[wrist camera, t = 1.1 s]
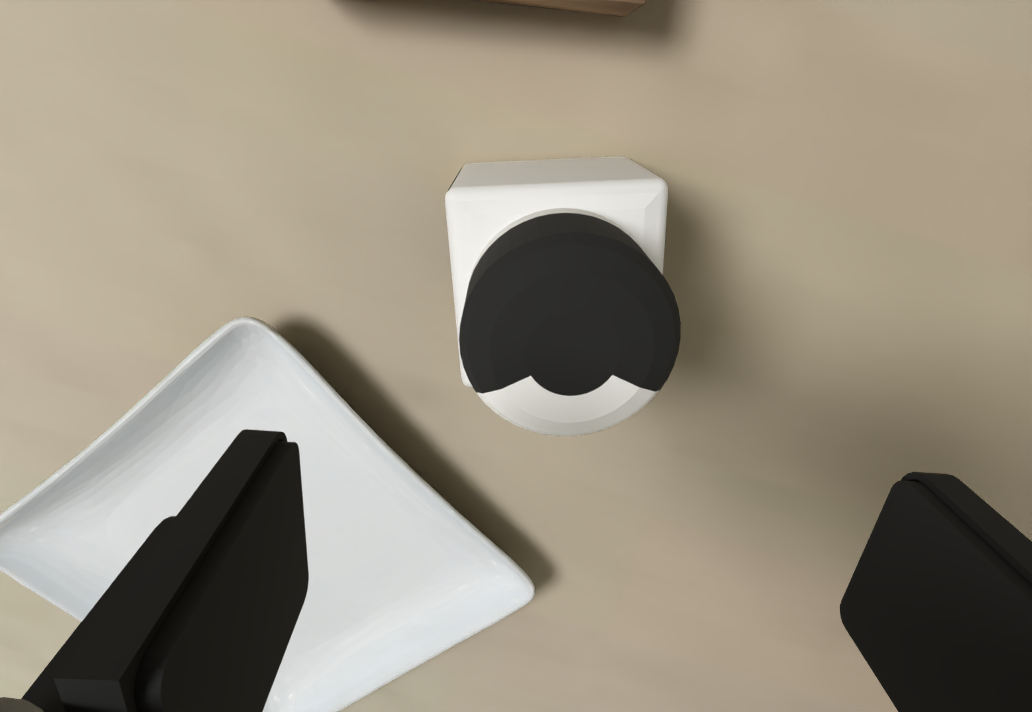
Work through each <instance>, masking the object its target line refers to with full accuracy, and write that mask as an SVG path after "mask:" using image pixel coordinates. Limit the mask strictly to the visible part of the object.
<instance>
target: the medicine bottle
mask: <svg viewBox="0 0 1032 712" xmlns="http://www.w3.org/2000/svg"><path fill="white" fill-rule="evenodd" d="M667 202H668V186H667V183H666V182H665V181H664V180H663V179H661V178H660V177H658V176H656V175H655V174H653V173H652V172H650V171H648V170H647V169H645V168H643V167H642V166H640V165H638V164H637V163H635V162H633V161H632V160H630V159H629V158H627V157H623V156H615V157H593V158H571V159H549V160H527V161H505V162H483V163H468V164H465V165H464V166H463V167H462V168H461V169H460V171H459V173H458V175H457V176H456V178H455V180H454V181H453V183H452V185H451V186H450V188H449V190H448V191H447V193H446V197H445V205H446V216H447V227H448V238H449V249H450V260H451V271H452V282H453V293H454V303H455V314H456V325H457V336H458V347H459V358H460V369H461V378H462V381H463V383H464V384H465V385H466V386H467V387H473V388H474V390H475V391H476V393H477V394H478V395H479V396H480V398H481V399H482V400H483V401H484V403H485V404H487V405H488V406H489V407H490V408H491V409H492V410H493V411H494V412H495V413H497V414H498V415H500V416H501V417H502V418H504V419H505V420H507V421H509V422H511V423H513V424H515V425H516V426H518V427H521V428H524V429H526V430H529V431H532V432H536V433H541V434H545V435H554V436H577V435H585V434H590V433H594V432H598V431H602V430H605V429H607V428H610V427H612V426H615V425H617V424H619V423H621V422H623V421H625V420H627V419H628V418H630V417H631V416H633V415H634V414H636V413H637V412H638V411H640V410H641V409H642V408H643V407H644V406H645V405H647V404H648V403H649V402H650V401H651V400H652V399H653V398H654V396H655V395H656V394H657V393H658V392H659V391H660V389H661V388H662V386H663V385H664V383H665V382H666V380H667V379H668V377H669V375H670V372H671V370H672V368H673V366H674V363H675V360H676V357H677V354H678V350H679V343H680V324H681V323H680V317H679V310H678V306H677V303H676V300H675V297H674V294H673V292H672V290H671V288H670V286H669V284H668V282H667V281H666V279H665V278H664V276H663V263H664V248H665V232H666V217H667Z"/></svg>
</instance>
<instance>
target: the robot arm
mask: <svg viewBox="0 0 1032 712" xmlns="http://www.w3.org/2000/svg"><path fill="white" fill-rule="evenodd" d="M308 582H309V572H308V559H307V545H306V532H305V519H304V506H303V493H302V480H301V467H300V454H299V447H298V444H297V443H296V442H287V437H286V435H285V433H283V432H280V431H265V430H249V429H245V430H242V431H241V432H240V433H239V434H238V435H237V436H236V438H235V439H234V440H233V442H232V443H231V444H230V446H229V447H228V448H227V450H226V451H225V452H224V454H223V455H222V456H221V458H220V459H219V460H218V461H217V463H216V464H215V465H214V467H213V468H212V469H211V471H210V472H209V473H208V475H207V476H206V477H205V479H204V480H203V481H202V483H201V484H200V485H199V487H198V488H197V489H196V491H195V492H194V493H193V495H192V496H191V497H190V499H189V500H188V501H187V502H186V504H185V505H184V506H183V508H182V509H181V510H180V512H179V513H178V514H177V516H170V517H168V518H166V519H164V520H163V521H162V522H161V523H160V524H159V525H158V526H157V527H156V528H155V529H154V530H153V531H152V533H151V534H150V535H149V536H148V538H147V539H146V540H145V542H144V543H143V544H142V545H141V547H140V548H139V549H138V550H137V552H136V553H135V554H134V556H133V557H132V558H131V559H130V561H129V562H128V563H127V565H126V566H125V567H124V568H123V570H122V571H121V572H120V573H119V575H118V576H117V577H116V579H115V580H114V581H113V582H112V584H111V585H110V586H109V587H108V589H107V590H106V591H105V593H104V594H103V595H102V596H101V598H100V599H99V600H98V602H97V603H96V604H95V605H94V607H93V608H92V609H91V610H90V612H89V613H88V614H87V616H86V617H85V618H84V619H83V621H82V622H81V623H80V625H79V626H78V627H77V628H76V630H75V631H74V632H73V633H72V635H71V636H70V637H69V639H68V640H67V641H66V642H65V644H64V645H63V646H62V647H61V649H60V650H59V651H58V653H57V654H56V655H55V656H54V658H53V659H52V660H51V662H50V663H49V664H48V665H47V667H46V668H45V669H44V670H43V672H42V673H41V674H40V676H39V677H38V678H37V679H36V681H35V682H34V683H33V685H32V686H31V687H30V688H29V690H28V691H27V692H26V693H25V695H24V696H23V697H22V699H14V698H6V697H2V698H0V712H263V709H264V706H265V704H266V701H267V699H268V696H269V693H270V691H271V688H272V685H273V683H274V680H275V678H276V675H277V672H278V670H279V667H280V664H281V662H282V659H283V657H284V654H285V651H286V649H287V646H288V643H289V641H290V638H291V636H292V633H293V630H294V628H295V625H296V623H297V620H298V617H299V615H300V612H301V609H302V607H303V604H304V601H305V598H306V594H307V590H308ZM840 614H841V619H842V622H843V624H844V626H845V628H846V630H847V631H848V633H849V635H850V636H851V638H852V639H853V641H854V643H855V644H856V646H857V647H858V649H859V650H860V652H861V654H862V655H863V657H864V658H865V660H866V661H867V663H868V665H869V666H870V668H871V669H872V671H873V672H874V674H875V676H876V677H877V679H878V680H879V682H880V683H881V685H882V687H883V688H884V690H885V691H886V693H887V694H888V696H889V698H890V699H891V701H892V702H893V704H894V705H895V707H896V709H897V710H898V712H1032V542H1031V541H1030V540H1029V539H1028V538H1027V537H1026V536H1024V535H1023V534H1022V533H1021V532H1020V531H1019V530H1017V529H1016V528H1015V527H1014V526H1013V525H1012V524H1010V523H1009V522H1008V521H1007V520H1006V519H1005V518H1003V517H1002V516H1001V515H1000V514H999V513H998V512H996V511H995V510H994V509H993V508H992V507H991V506H989V505H988V504H987V503H986V502H985V501H984V500H982V499H981V498H980V497H979V496H978V495H977V494H975V493H974V492H973V491H972V490H971V489H970V488H968V487H967V486H966V485H965V484H964V483H963V482H961V481H960V480H959V479H958V478H956V477H954V476H953V475H948V474H938V473H922V472H912V473H908V474H907V475H905V476H904V477H903V478H902V480H901V481H898V482H896V483H895V484H894V485H893V487H892V488H891V490H890V493H889V495H888V497H887V499H886V502H885V504H884V506H883V508H882V511H881V513H880V515H879V517H878V520H877V522H876V524H875V526H874V529H873V531H872V533H871V535H870V538H869V540H868V542H867V544H866V547H865V549H864V551H863V553H862V556H861V558H860V560H859V562H858V565H857V567H856V569H855V571H854V574H853V576H852V578H851V580H850V583H849V585H848V587H847V589H846V592H845V594H844V596H843V598H842V601H841V604H840Z"/></svg>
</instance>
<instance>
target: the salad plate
mask: <svg viewBox="0 0 1032 712" xmlns="http://www.w3.org/2000/svg"><path fill="white" fill-rule="evenodd" d="M245 429H249V430H265V431H280V432H283V433H285V435H286V437H287V442H296V443H297V444H298V447H299V454H300V467H301V480H302V493H303V506H304V519H305V532H306V545H307V559H308V572H309V582H308V590H307V594H306V598H305V601H304V604H303V607H302V609H301V612H300V615H299V617H298V620H297V623H296V625H295V628H294V630H293V633H292V636H291V638H290V641H289V643H288V646H287V649H286V651H285V654H284V657H283V659H282V662H281V664H280V667H279V670H278V672H277V675H276V678H275V680H274V683H273V685H272V688H271V691H270V693H269V696H268V699H267V701H266V704H265V706H264V709H263V712H338V711H340V710H342V709H344V708H345V707H347V706H349V705H351V704H353V703H354V702H356V701H358V700H360V699H361V698H363V697H365V696H367V695H368V694H370V693H372V692H374V691H375V690H377V689H379V688H380V687H382V686H384V685H386V684H387V683H389V682H391V681H392V680H394V679H396V678H398V677H399V676H401V675H403V674H405V673H406V672H408V671H410V670H412V669H414V668H415V667H417V666H419V665H421V664H422V663H424V662H426V661H428V660H429V659H431V658H433V657H435V656H436V655H438V654H440V653H442V652H443V651H445V650H447V649H449V648H451V647H453V646H454V645H456V644H458V643H460V642H462V641H463V640H465V639H467V638H469V637H471V636H472V635H474V634H476V633H478V632H480V631H481V630H483V629H485V628H487V627H489V626H491V625H492V624H494V623H496V622H498V621H500V620H501V619H503V618H505V617H506V616H508V615H510V614H512V613H513V612H515V611H517V610H518V609H520V608H521V607H523V606H524V605H526V604H528V603H529V602H530V601H531V600H532V599H533V597H534V595H535V587H534V584H533V582H532V580H531V579H530V577H529V576H528V575H527V574H526V573H525V571H524V570H523V569H522V568H521V567H520V566H519V565H518V564H517V563H516V562H515V561H513V560H512V559H511V558H510V557H509V556H508V555H507V554H506V553H505V552H503V551H502V550H501V549H500V548H499V547H498V546H497V545H495V544H494V543H493V542H492V541H491V540H490V539H489V538H487V537H486V536H485V535H484V534H483V533H482V532H481V531H479V530H478V529H477V528H476V527H475V526H474V525H473V524H471V523H470V522H469V521H468V520H467V519H466V518H465V517H464V516H462V515H461V514H460V513H459V512H458V511H457V510H456V509H455V508H454V507H452V506H451V505H450V504H449V503H448V502H447V501H446V500H445V499H444V498H443V497H442V496H441V495H440V494H439V493H438V492H436V491H435V490H434V489H433V488H432V487H431V486H430V485H429V484H428V483H427V482H426V481H425V480H424V479H423V478H421V477H420V476H419V475H418V474H417V473H416V472H415V471H414V470H413V469H412V468H411V467H410V466H409V465H408V464H407V463H406V462H405V461H404V460H403V459H402V458H401V457H400V456H398V455H397V454H396V453H395V452H394V451H393V450H392V449H391V448H390V447H389V446H388V445H387V444H386V443H385V442H384V441H383V440H382V439H381V438H380V437H379V436H378V435H377V434H376V433H375V432H374V431H373V430H372V429H371V428H370V427H369V426H368V425H367V424H366V423H365V422H364V421H363V420H362V419H361V418H360V417H359V416H358V414H357V413H356V412H355V411H354V410H353V409H352V408H351V407H350V406H349V405H348V404H347V403H346V402H345V401H344V399H343V398H342V397H341V396H340V395H339V394H338V393H337V392H336V391H335V390H334V389H333V388H332V387H331V386H330V384H329V383H328V382H327V381H326V380H325V379H324V378H323V377H322V376H321V375H320V374H319V373H318V372H317V370H316V369H315V368H314V367H313V366H312V365H311V364H310V363H309V362H308V361H307V360H306V359H305V358H304V357H303V356H302V355H301V354H300V353H299V352H298V351H297V350H296V349H295V347H293V346H292V345H291V344H290V343H289V342H288V341H287V340H286V339H284V338H283V337H282V336H281V335H280V334H279V333H278V332H277V331H276V330H274V329H273V328H272V327H271V326H270V325H268V324H267V323H265V322H264V321H262V320H259V319H256V318H253V317H239V318H236V319H234V320H232V321H230V322H228V323H226V324H225V325H224V326H222V327H221V328H220V329H218V330H217V331H216V332H214V333H213V334H212V335H211V336H210V337H209V338H207V339H206V340H205V341H204V342H203V343H202V344H200V345H199V346H198V347H197V348H196V349H195V350H194V351H192V352H191V353H190V354H189V355H188V356H187V357H186V358H185V359H184V360H183V361H182V362H181V363H180V364H179V365H178V366H177V367H176V368H174V369H173V370H172V371H171V372H170V373H169V374H168V375H167V376H166V377H165V378H164V379H163V380H162V381H160V382H159V383H158V384H157V385H156V386H155V387H154V388H153V389H152V390H151V391H150V392H149V393H148V394H147V395H145V396H144V397H143V398H142V399H141V400H140V401H139V402H138V403H137V404H136V405H135V406H134V407H133V408H131V409H130V410H129V411H128V412H127V413H126V414H125V415H124V416H123V417H122V418H121V419H119V420H118V421H117V422H116V423H115V424H114V425H112V426H111V427H110V428H109V429H108V430H107V431H105V432H104V433H103V434H102V435H101V436H100V437H98V438H97V439H96V440H95V441H94V442H93V443H91V444H90V445H89V446H88V447H87V448H86V449H84V450H83V451H82V452H81V453H80V454H78V455H77V456H76V457H75V458H74V459H72V460H71V461H70V462H68V463H67V464H66V465H64V466H63V467H62V468H60V469H59V470H58V471H57V472H55V473H54V474H53V475H51V476H50V477H49V478H48V479H46V480H45V481H44V482H42V483H41V484H40V485H39V486H37V487H36V488H35V489H33V490H32V491H31V492H29V493H28V494H27V495H25V496H24V497H23V498H21V499H20V500H19V501H17V502H16V503H15V504H13V505H12V506H11V507H10V508H8V509H7V510H6V511H4V512H3V513H2V514H0V571H2V572H4V573H5V574H7V575H9V576H10V577H12V578H13V579H14V580H16V581H17V582H19V583H20V584H22V585H23V586H25V587H27V588H28V589H30V590H31V591H33V592H35V593H36V594H38V595H39V596H41V597H43V598H44V599H46V600H47V601H49V602H51V603H52V604H54V605H55V606H57V607H59V608H60V609H62V610H63V611H65V612H67V613H68V614H70V615H71V616H73V617H74V618H76V619H77V620H79V621H80V622H82V621H83V619H84V618H85V617H86V616H87V614H88V613H89V612H90V610H91V609H92V608H93V607H94V605H95V604H96V603H97V602H98V600H99V599H100V598H101V596H102V595H103V594H104V593H105V591H106V590H107V589H108V587H109V586H110V585H111V584H112V582H113V581H114V580H115V579H116V577H117V576H118V575H119V573H120V572H121V571H122V570H123V568H124V567H125V566H126V565H127V563H128V562H129V561H130V559H131V558H132V557H133V556H134V554H135V553H136V552H137V550H138V549H139V548H140V547H141V545H142V544H143V543H144V542H145V540H146V539H147V538H148V536H149V535H150V534H151V533H152V531H153V530H154V529H155V528H156V527H157V526H158V525H159V524H160V523H161V522H162V521H163V520H164V519H166V518H168V517H170V516H177V514H178V513H179V512H180V510H181V509H182V508H183V506H184V505H185V504H186V502H187V501H188V500H189V499H190V497H191V496H192V495H193V493H194V492H195V491H196V489H197V488H198V487H199V485H200V484H201V483H202V481H203V480H204V479H205V477H206V476H207V475H208V473H209V472H210V471H211V469H212V468H213V467H214V465H215V464H216V463H217V461H218V460H219V459H220V458H221V456H222V455H223V454H224V452H225V451H226V450H227V448H228V447H229V446H230V444H231V443H232V442H233V440H234V439H235V438H236V436H237V435H238V434H239V433H240V432H241V431H242V430H245Z"/></svg>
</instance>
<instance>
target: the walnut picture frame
mask: <svg viewBox="0 0 1032 712" xmlns="http://www.w3.org/2000/svg"><path fill="white" fill-rule="evenodd" d="M478 1H487V2H496V3H506V4H515V5H524V6H534V7H543V8H552V9H562V10H571V11H580V12H590V13H599V14H608V15H618V16H626V15H628V14H629V13H631V12H632V11H634V10H636V9H637V8H639V7H641V6H642V5H644V4H645V0H478Z"/></svg>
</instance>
